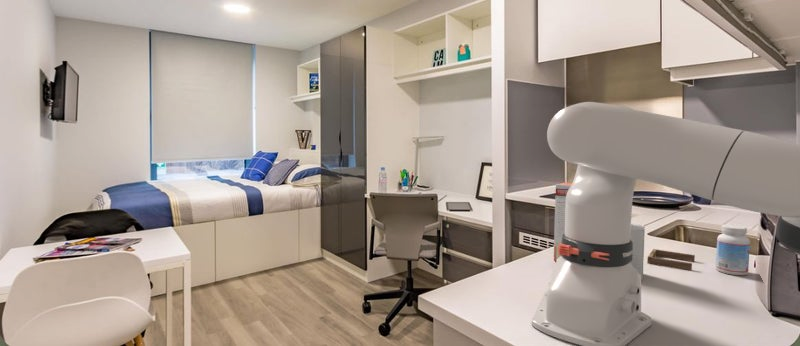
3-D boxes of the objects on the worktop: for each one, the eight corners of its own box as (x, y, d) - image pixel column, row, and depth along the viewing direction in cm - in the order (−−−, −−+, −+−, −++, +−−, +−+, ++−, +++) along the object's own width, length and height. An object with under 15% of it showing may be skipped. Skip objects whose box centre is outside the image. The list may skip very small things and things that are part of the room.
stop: (691, 270, 97) (691, 264, 97) (647, 263, 103) (647, 257, 103) (694, 261, 104) (694, 255, 104) (653, 254, 110) (653, 248, 110)
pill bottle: (754, 277, 92) (757, 229, 91) (724, 275, 94) (727, 228, 93) (737, 268, 98) (740, 224, 97) (709, 267, 100) (712, 223, 99)
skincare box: (622, 270, 98) (624, 222, 96) (642, 273, 95) (644, 224, 94) (621, 278, 92) (623, 227, 91) (642, 281, 90) (645, 229, 89)
